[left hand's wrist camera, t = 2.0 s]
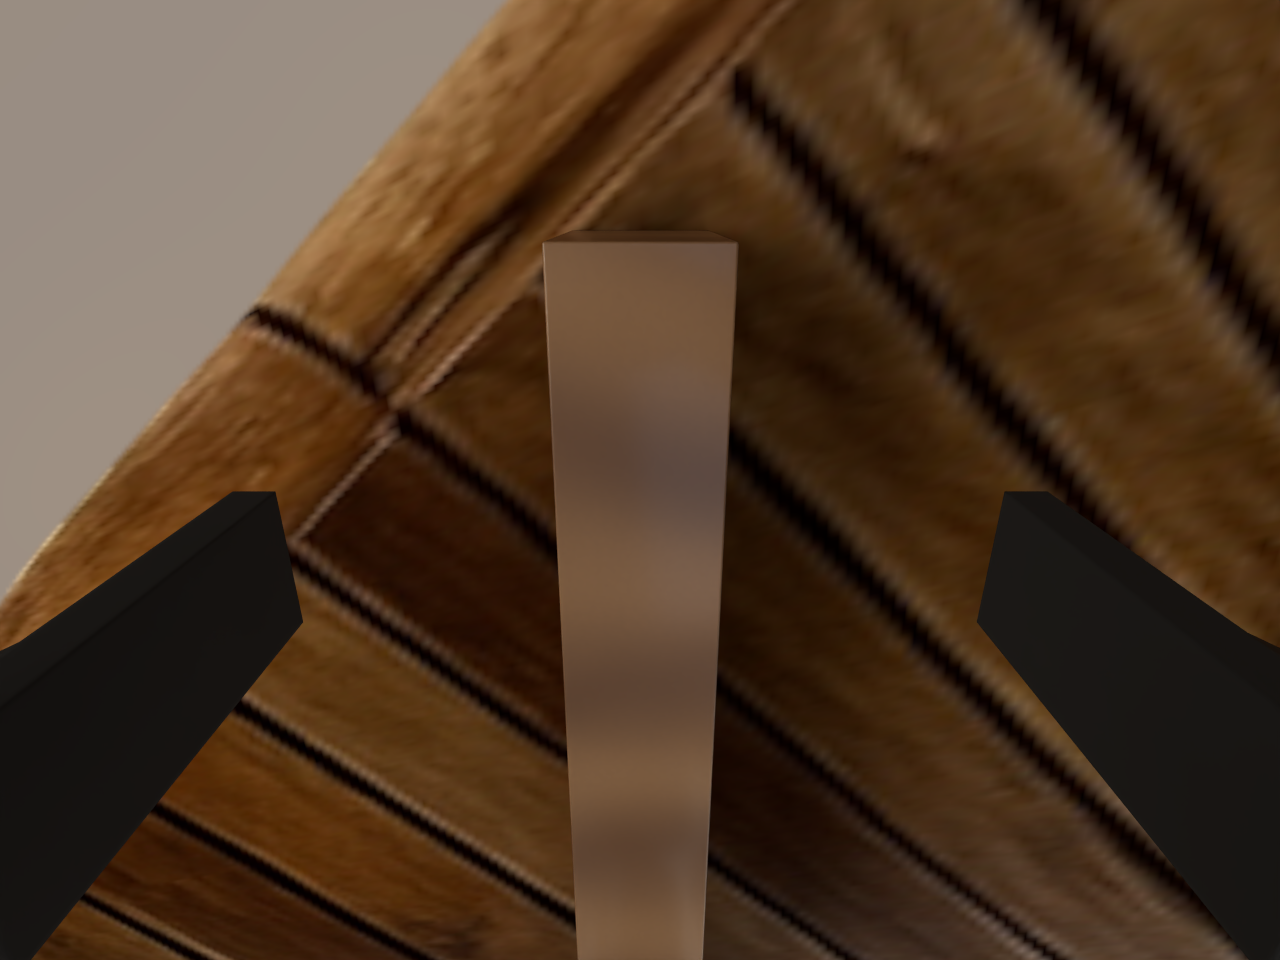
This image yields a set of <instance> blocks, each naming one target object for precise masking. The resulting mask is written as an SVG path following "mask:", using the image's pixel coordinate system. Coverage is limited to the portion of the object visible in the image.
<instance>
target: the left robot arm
mask: <svg viewBox="0 0 1280 960" xmlns="http://www.w3.org/2000/svg"><path fill="white" fill-rule="evenodd" d="M302 623H303V619H302V614H301V610H300V605H299V600H298V596H297V591H296V586H295V582H294V577H293V572H292V567H291V563H290V558H289V553H288V549H287V544H286V539H285V535H284V530H283V525H282V521H281V516H280V511H279V506H278V502H277V497H276V492H231V493H230V494H229V495H227V496H226V497H224V498H223V499H221V500H220V501H219V502H217V503H216V504H214V505H213V506H212V507H210V508H209V509H207V510H206V511H204V512H203V513H202V514H200V515H199V516H197V517H196V518H195V519H193V520H192V521H190V522H189V523H187V524H186V525H185V526H183V527H182V528H180V529H179V530H178V531H176V532H175V533H173V534H172V535H170V536H169V537H168V538H166V539H165V540H163V541H162V542H161V543H159V544H158V545H156V546H155V547H153V548H152V549H151V550H149V551H148V552H146V553H145V554H143V555H142V556H141V557H139V558H138V559H136V560H135V561H134V562H132V563H131V564H129V565H128V566H126V567H125V568H124V569H122V570H121V571H119V572H118V573H117V574H115V575H114V576H112V577H111V578H109V579H108V580H107V581H105V582H104V583H102V584H101V585H100V586H98V587H97V588H95V589H94V590H92V591H91V592H90V593H88V594H87V595H85V596H84V597H83V598H81V599H80V600H78V601H77V602H75V603H74V604H73V605H71V606H70V607H68V608H67V609H66V610H64V611H63V612H61V613H60V614H58V615H57V616H56V617H54V618H53V619H51V620H50V621H49V622H47V623H46V624H44V625H43V626H41V627H40V628H39V629H37V630H36V631H34V632H33V633H31V634H30V635H29V636H27V637H26V638H24V639H23V640H22V641H20V642H18V643H16V644H14V645H12V646H10V647H8V648H6V649H4V650H2V651H0V960H31V959H32V958H33V956H34V955H35V954H36V953H37V951H38V950H39V949H40V948H41V947H42V945H43V944H44V943H45V942H46V940H47V939H48V938H49V937H50V935H51V934H52V933H53V932H54V930H55V929H56V928H57V927H58V925H59V924H60V923H61V922H62V920H63V919H64V918H65V917H66V916H67V914H68V913H69V912H70V911H71V909H72V908H73V907H74V906H75V904H76V903H77V902H78V901H79V899H80V898H81V897H82V896H83V894H84V893H85V892H86V891H87V889H88V888H89V887H90V886H91V884H92V883H93V882H94V881H95V880H96V878H97V877H98V876H99V875H100V873H101V872H102V871H103V870H104V868H105V867H106V866H107V865H108V863H109V862H110V861H111V860H112V858H113V857H114V856H115V855H116V853H117V852H118V851H119V850H120V849H121V847H122V846H123V845H124V844H125V842H126V841H127V840H128V839H129V837H130V836H131V835H132V834H133V832H134V831H135V830H136V829H137V827H138V826H139V825H140V824H141V822H142V821H143V820H144V819H145V818H146V816H147V815H148V814H149V813H150V811H151V810H152V809H153V808H154V806H155V805H156V804H157V803H158V801H159V800H160V799H161V798H162V796H163V795H164V794H165V793H166V791H167V790H168V789H169V788H170V787H171V785H172V784H173V783H174V782H175V780H176V779H177V778H178V777H179V775H180V774H181V773H182V772H183V770H184V769H185V768H186V767H187V765H188V764H189V763H190V762H191V760H192V759H193V758H194V757H195V756H196V754H197V753H198V752H199V751H200V749H201V748H202V747H203V746H204V744H205V743H206V742H207V741H208V739H209V738H210V737H211V736H212V734H213V733H214V732H215V731H216V729H217V728H218V727H219V726H220V725H221V723H222V722H223V721H224V720H225V718H226V717H227V716H228V715H229V713H230V712H231V711H232V710H233V708H234V707H235V706H236V705H237V703H238V702H239V701H240V700H241V698H242V697H243V696H244V695H245V694H246V692H247V691H248V690H249V689H250V687H251V686H252V685H253V684H254V682H255V681H256V680H257V679H258V677H259V676H260V675H261V674H262V672H263V671H264V670H265V669H266V667H267V666H268V665H269V664H270V663H271V661H272V660H273V659H274V658H275V656H276V655H277V654H278V653H279V651H280V650H281V649H282V648H283V646H284V645H285V644H286V643H287V641H288V640H289V639H290V638H291V636H292V635H293V634H294V633H295V632H296V630H297V629H298V628H299V627H300V625H301V624H302ZM977 623H978V624H979V625H980V627H981V628H982V629H983V630H984V632H985V633H986V634H987V635H988V636H989V638H990V639H991V640H992V641H993V643H994V644H995V645H996V646H997V648H998V649H999V650H1000V651H1001V653H1002V654H1003V655H1004V656H1005V658H1006V659H1007V660H1008V661H1009V663H1010V664H1011V665H1012V666H1013V667H1014V669H1015V670H1016V671H1017V672H1018V674H1019V675H1020V676H1021V677H1022V679H1023V680H1024V681H1025V682H1026V684H1027V685H1028V686H1029V687H1030V689H1031V690H1032V691H1033V692H1034V694H1035V695H1036V696H1037V697H1038V698H1039V700H1040V701H1041V702H1042V703H1043V705H1044V706H1045V707H1046V708H1047V710H1048V711H1049V712H1050V713H1051V715H1052V716H1053V717H1054V718H1055V720H1056V721H1057V722H1058V723H1059V725H1060V726H1061V727H1062V728H1063V729H1064V731H1065V732H1066V733H1067V734H1068V736H1069V737H1070V738H1071V739H1072V741H1073V742H1074V743H1075V744H1076V746H1077V747H1078V748H1079V749H1080V751H1081V752H1082V753H1083V754H1084V756H1085V757H1086V758H1087V759H1088V760H1089V762H1090V763H1091V764H1092V765H1093V767H1094V768H1095V769H1096V770H1097V772H1098V773H1099V774H1100V775H1101V777H1102V778H1103V779H1104V780H1105V782H1106V783H1107V784H1108V785H1109V787H1110V788H1111V789H1112V790H1113V791H1114V793H1115V794H1116V795H1117V796H1118V798H1119V799H1120V800H1121V801H1122V803H1123V804H1124V805H1125V806H1126V808H1127V809H1128V810H1129V811H1130V813H1131V814H1132V815H1133V816H1134V818H1135V819H1136V820H1137V821H1138V822H1139V824H1140V825H1141V826H1142V827H1143V829H1144V830H1145V831H1146V832H1147V834H1148V835H1149V836H1150V837H1151V839H1152V840H1153V841H1154V842H1155V844H1156V845H1157V846H1158V847H1159V849H1160V850H1161V851H1162V852H1163V853H1164V855H1165V856H1166V857H1167V858H1168V860H1169V861H1170V862H1171V863H1172V865H1173V866H1174V867H1175V868H1176V870H1177V871H1178V872H1179V873H1180V875H1181V876H1182V877H1183V878H1184V880H1185V881H1186V882H1187V883H1188V884H1189V886H1190V887H1191V888H1192V889H1193V891H1194V892H1195V893H1196V894H1197V896H1198V897H1199V898H1200V899H1201V901H1202V902H1203V903H1204V904H1205V906H1206V907H1207V908H1208V909H1209V911H1210V912H1211V913H1212V914H1213V916H1214V917H1215V918H1216V919H1217V920H1218V922H1219V923H1220V924H1221V925H1222V927H1223V928H1224V929H1225V930H1226V932H1227V933H1228V934H1229V935H1230V937H1231V938H1232V939H1233V940H1234V942H1235V943H1236V944H1237V945H1238V947H1239V948H1240V949H1241V950H1242V951H1243V953H1244V954H1245V955H1246V956H1247V958H1248V959H1249V960H1280V648H1279V647H1277V646H1274V645H1272V644H1270V643H1268V642H1266V641H1264V640H1262V639H1260V638H1258V637H1255V636H1253V635H1251V634H1249V633H1247V632H1246V631H1244V630H1243V629H1241V628H1240V627H1239V626H1237V625H1236V624H1234V623H1233V622H1231V621H1230V620H1229V619H1227V618H1226V617H1224V616H1223V615H1222V614H1220V613H1219V612H1217V611H1216V610H1214V609H1213V608H1212V607H1210V606H1209V605H1207V604H1206V603H1205V602H1203V601H1202V600H1200V599H1199V598H1197V597H1196V596H1195V595H1193V594H1192V593H1190V592H1189V591H1188V590H1186V589H1185V588H1183V587H1182V586H1180V585H1179V584H1178V583H1176V582H1175V581H1173V580H1172V579H1171V578H1169V577H1168V576H1166V575H1165V574H1163V573H1162V572H1161V571H1159V570H1158V569H1156V568H1155V567H1154V566H1152V565H1151V564H1149V563H1148V562H1146V561H1145V560H1144V559H1142V558H1141V557H1139V556H1138V555H1136V554H1135V553H1134V552H1132V551H1131V550H1129V549H1128V548H1127V547H1125V546H1124V545H1122V544H1121V543H1119V542H1118V541H1117V540H1115V539H1114V538H1112V537H1111V536H1110V535H1108V534H1107V533H1105V532H1104V531H1102V530H1101V529H1100V528H1098V527H1097V526H1095V525H1094V524H1093V523H1091V522H1090V521H1088V520H1087V519H1085V518H1084V517H1083V516H1081V515H1080V514H1078V513H1077V512H1076V511H1074V510H1073V509H1071V508H1070V507H1068V506H1067V505H1066V504H1064V503H1063V502H1061V501H1060V500H1059V499H1057V498H1056V497H1054V496H1053V495H1051V494H1050V493H1049V492H1004V497H1003V502H1002V506H1001V511H1000V516H999V521H998V525H997V530H996V535H995V539H994V544H993V549H992V553H991V558H990V563H989V567H988V572H987V577H986V582H985V586H984V591H983V596H982V600H981V605H980V610H979V614H978V619H977Z"/></svg>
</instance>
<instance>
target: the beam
mask: <svg viewBox="0 0 1280 960" xmlns="http://www.w3.org/2000/svg"><path fill="white" fill-rule="evenodd" d="M738 249H739V244H738V242H736V241H734V240H731V239H729V238H726V237H723V236H721V235H718V234H716V233H713V232H710V231H570V232H568V233H565V234H562V235H560V236H557V237H555V238H552V239H550V240H547V241H545V242H543V243H542V254H543V274H544V294H545V314H546V334H547V354H548V374H549V394H550V414H551V434H552V454H553V474H554V494H555V514H556V534H557V554H558V574H559V594H560V614H561V634H562V654H563V674H564V694H565V714H566V734H567V754H568V774H569V794H570V814H571V834H572V854H573V874H574V894H575V914H576V934H577V954H578V960H703V944H704V924H705V904H706V884H707V865H708V845H709V825H710V805H711V785H712V765H713V745H714V726H715V706H716V686H717V666H718V646H719V626H720V607H721V587H722V567H723V547H724V527H725V507H726V487H727V468H728V448H729V428H730V408H731V388H732V368H733V348H734V329H735V309H736V289H737V269H738Z"/></svg>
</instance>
